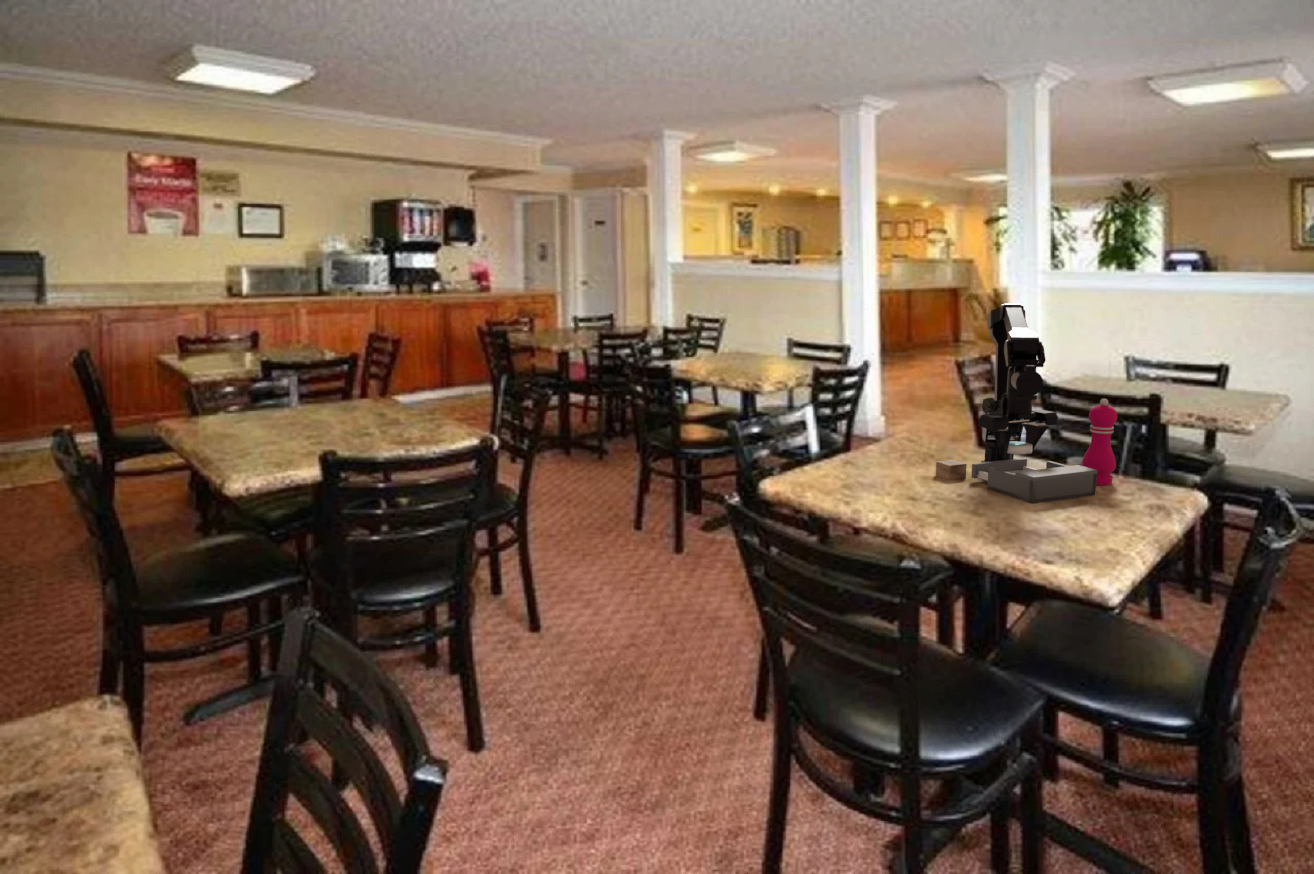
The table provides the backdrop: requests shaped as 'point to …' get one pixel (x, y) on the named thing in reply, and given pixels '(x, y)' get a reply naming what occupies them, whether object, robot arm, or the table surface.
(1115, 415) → the pepper mill
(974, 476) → the tray
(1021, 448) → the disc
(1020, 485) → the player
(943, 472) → the block
